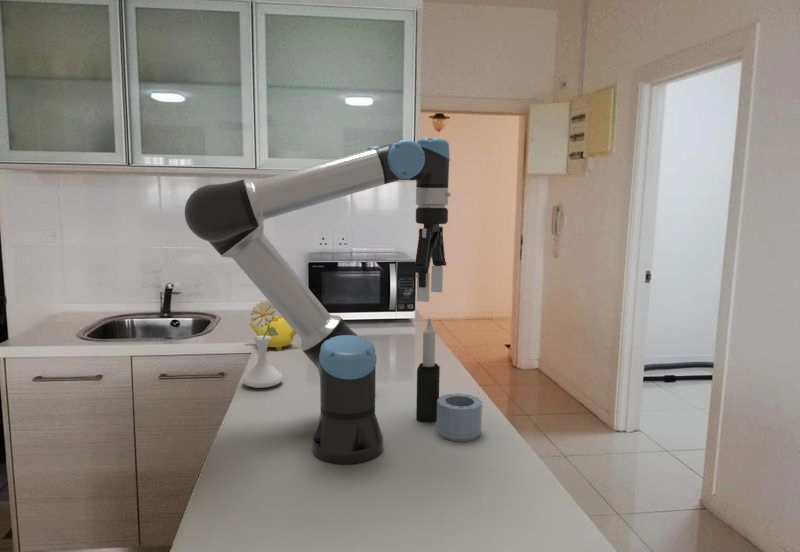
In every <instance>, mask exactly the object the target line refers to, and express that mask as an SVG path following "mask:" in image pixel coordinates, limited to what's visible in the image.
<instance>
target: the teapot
mask: <svg viewBox="0 0 800 552" xmlns="http://www.w3.org/2000/svg"><path fill="white" fill-rule="evenodd" d="M248 325H249V326H250V327H251V329H252V330H253V331H254V332H255V334H256V335H257V336H264V335H265V334H264V333H262V332H260V331H259V330H257V329H256V328H255V326H254V324H252V322H250V323H249V324H248ZM256 326H257V325H256ZM272 327H274V328H275V329H276V331H277V333H278V335H276V336H270V335H269V333H268V332H267V334H266V335H265V336H270V337H271V339H270V340H269V342H268V345H267V350H268V349H269V348H275V351H282V350H283V347H289V346H290V344H291V343H292V341H294V337H296V335H298V334H297V333H296V332H295V331H294V330H293V328H292V327H291V326H290V325H289V324H288V323H287V321H286V320H285V319H284V318H283V317H282V316H281V317H280V318H279V316H278V315H276V316H275V317H274V320H272V322H271V323H270V324H269V328H272ZM260 329H262V330H263V331H264V332H265V333H266V331H267V329H268V325H267V326H265V325H264V326H263V327H260Z"/></svg>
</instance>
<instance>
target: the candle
mask: <svg viewBox="0 0 800 552" xmlns="http://www.w3.org/2000/svg"><path fill="white" fill-rule="evenodd" d="M435 355H436V331H435V330H434V328H433V324H432V318H430V317H429V318H428V319H427V324H426V327H425V329H424V330H423V332H422V362H420V363H419V365H418V366H417V369H416V408H415V409H416V413H415V415H416V417H415V419H416V421H418V422H423V423H424V422H425V423H426V422H427V423H437V400H438V398H439V397H440V375H441V374H440V373H441V371H440V368H441V367H440V366H439V364H437V363H435V361H436V356H435Z"/></svg>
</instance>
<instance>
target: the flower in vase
mask: <svg viewBox="0 0 800 552" xmlns="http://www.w3.org/2000/svg"><path fill="white" fill-rule="evenodd" d="M250 312H251V313H250V320H251V322H252V324H254V326H255V328H256V329H257V330H259V331H260V332H262V333H264V334H265V335H266V334H267V332H268V333H269V335H270V336H276V335H278V333H277V331H276V329H275V328H274V327H272V328H269V324H270V323H271V322H272V320H274V317H275V316H277V310H276V309H275V307H274V306H273V305H272V304H271V303H270V302H269V300H268V299H266V300H265V301H264V300H261V301H260V302H257V303H256V305H255V306H253V307H252V310H251V311H250ZM251 322H250V323H251ZM256 325H257V326H256ZM264 325H265V326H267V325H268V329H267V331H266V333H265V332H264V331H263V330H262V329H260V327H263V326H264ZM265 335H264V336H253V338H252V339H253V340H254V342H255V344H256V347H257V356H258V358H257V359H258V360H257V363H256V365H254V366H253V367H252V368H251V369H250V370H248V371H247V372H246V373H245V374H244V375H243V377H242V383H243V384H244V385H245V386H248V387H250V388H251V387H252V388H257V389H258V388H259V389H260V388H261V389H262V388H263V389H264V388H270V387H275V386H276V385H278V384H280V383H282V382H283V380H284V376H283V374H282V373H281V372H280V371H279V370H277V369H276V368H275V367H273V366H272V365H271V364H270V363H269V362H268V359H267V357H268V356H267V353H268V352H267V351H268V349H267V345H268V342H269V340H270V339H271V337H270V336H265Z"/></svg>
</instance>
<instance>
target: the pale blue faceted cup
mask: <svg viewBox="0 0 800 552" xmlns="http://www.w3.org/2000/svg"><path fill="white" fill-rule="evenodd" d="M482 417H483V401H482V400H481V399H480V398H479V397H477V396H474V395H471V394H465V393H459V392H457V393H447V394H444V395H441V396H440V395H439V398H438V400H437V421H436V433H437V435H438V436H439V437H441V438H443V439H445V440H448V441H451V442H461V443H462V442H471V441H475V440H477V439H479V437H481V434H482V433H481V432H482V421H483V419H482Z"/></svg>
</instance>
